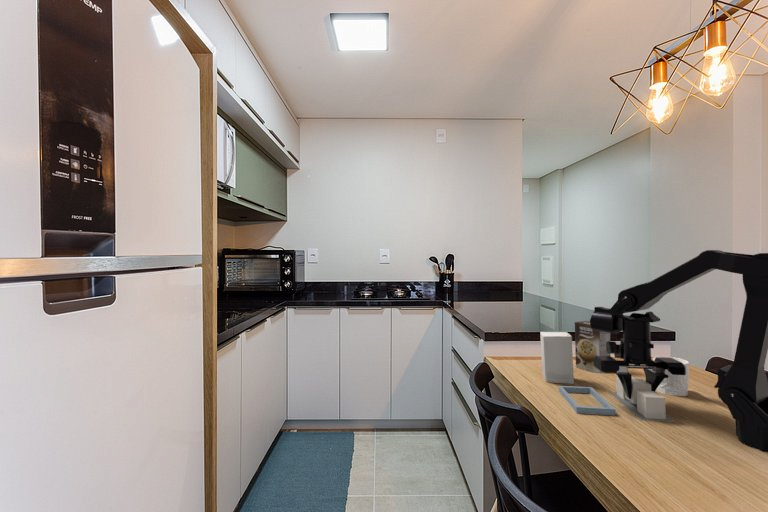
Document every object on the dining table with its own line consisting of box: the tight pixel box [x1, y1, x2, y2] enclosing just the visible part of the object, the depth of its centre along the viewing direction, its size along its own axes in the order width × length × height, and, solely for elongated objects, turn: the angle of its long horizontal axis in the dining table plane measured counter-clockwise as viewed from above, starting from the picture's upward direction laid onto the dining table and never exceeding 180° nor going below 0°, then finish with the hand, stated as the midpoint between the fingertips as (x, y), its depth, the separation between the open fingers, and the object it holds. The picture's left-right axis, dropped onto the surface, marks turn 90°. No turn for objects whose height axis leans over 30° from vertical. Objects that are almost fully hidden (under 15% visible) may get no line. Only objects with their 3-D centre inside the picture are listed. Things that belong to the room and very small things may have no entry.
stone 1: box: [615, 375, 636, 400], centre depth 94 cm, size 4×4×5 cm
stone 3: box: [637, 391, 667, 419], centre depth 83 cm, size 4×4×5 cm
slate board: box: [608, 391, 676, 423], centre depth 88 cm, size 17×7×1 cm, turn 169°
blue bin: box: [558, 385, 616, 416], centre depth 91 cm, size 15×9×3 cm, turn 169°
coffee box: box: [574, 320, 612, 374], centre depth 121 cm, size 9×6×16 cm
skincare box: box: [539, 331, 575, 385], centre depth 108 cm, size 8×7×16 cm
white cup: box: [652, 355, 690, 397], centre depth 97 cm, size 8×8×10 cm
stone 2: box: [626, 378, 651, 404], centre depth 88 cm, size 4×4×5 cm
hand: (638, 398), depth 88 cm, fingers closed on stone 2, 4 cm apart
